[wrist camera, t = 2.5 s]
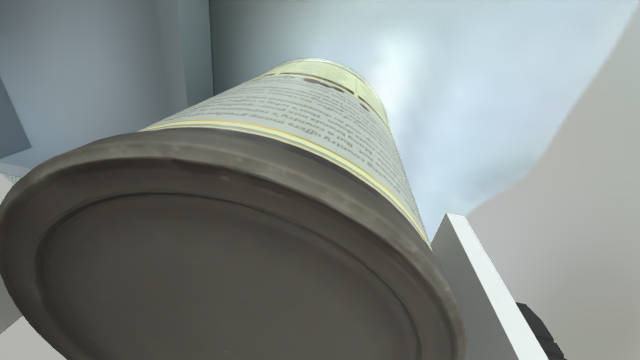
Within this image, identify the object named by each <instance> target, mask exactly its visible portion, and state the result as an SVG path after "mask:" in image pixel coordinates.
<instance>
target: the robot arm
mask: <svg viewBox="0 0 640 360" xmlns="http://www.w3.org/2000/svg"><path fill="white" fill-rule="evenodd" d="M431 248H432V251H433V254H434V255H435V257H436V258H437V259H438V261H439V262H440V264H441V266H442V268H443V270H444V272H445V274H446V276H447V278H448V280H449V283H450V285H451V287H452V289H453V292H454V294H455V296H456V299H457V301H458V304H459V307H460V310H461V313H462V317H463V321H464V324H465V330H466V335H467V350H466V358H465V360H567V359H564V355H563V353H562V351H561V350H560V348H559V347H558V345H557V344H556V343H554V341H553V340H554V339H553V337H552V336H551V334H550V333H549V331H548V330H547V328H546V326H545V325H544V323H543V322H542V320H541V319H539V317H538V316H537V315H536V314H535V313H533V311H532V310H531V309H530V308H529V307H527V305H526V304H521V303H517V302H515V301H514V300H513V298H512V296H511V295H510V293H509V291H508V290H507V288H506V286H505V285H504V283H503V281H502V279H501V278H500V276H499V274H498V273H497V271H496V269H495V267H494V266H493V264H492V262H491V261H490V259H489V257H488V256H487V254H486V252H485V250H484V249H483V247H482V245H481V244H480V242H479V240H478V239H477V237H476V235H475V233H474V232H473V230H472V228H471V227H470V225H469V223H468V221H467V220H466V218H465V216H460V215H455V214H450V213H446V214H445V216H444V218H443V220H442V222H441V225H440V227H439V229H438V231H437V233H436V235H435V237H434V239H433V241H432V243H431ZM21 316H23V314H22V313H21V312H20V310H19V309H18V308H17V307H16V305H15V304H14V302H13V300H12V298H11V297H10V295H9V293H8V291H7V289H6V287H5V285H4V282H3V279H2V277H1V275H0V334H1V333H2V332H3V331H5V330H6V329H7V328H8V327H9V326H11V325H12V324H13V323H14V322H15V321H17V320H18V319H19V318H20V317H21Z"/></svg>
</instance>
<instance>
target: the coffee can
mask: <svg viewBox="0 0 640 360" xmlns="http://www.w3.org/2000/svg"><path fill="white" fill-rule="evenodd" d="M0 275H1V277H2V279H3V282H4V285H5V287H6V289H7V291H8V293H9V295H10V297H11V298H12V300H13V302H14V304H15V305H16V307H17V308H18V309H19V310H20V312H21V313H22V314H23V316H24V317H25V319H26V320H27V321H28V322H29V324H30V325H31V326H32V327H33V328H34V329H35V330H36V331H37V332H38V333H39V334H40V335H41V336H42V337H43V338H44V339H45V340H46V341H47V342H48V343H49V344H50V345H51V346H52V347H53V348H54V349H55V350H57V351H58V352H59V353H60V354H62V355H63V356H64V357H65V358H66V359H67V360H465V358H466V350H467V335H466V330H465V324H464V321H463V317H462V313H461V310H460V307H459V304H458V301H457V299H456V296H455V294H454V292H453V289H452V287H451V285H450V283H449V280H448V278H447V276H446V274H445V272H444V270H443V268H442V266H441V264H440V262H439V261H438V259H437V258H436V257H435V255H434V254H433V251H432V248H431V245H430V242H429V239H428V237H427V234H426V231H425V228H424V225H423V222H422V220H421V217H420V214H419V211H418V208H417V205H416V202H415V199H414V196H413V194H412V191H411V188H410V185H409V182H408V180H407V177H406V174H405V171H404V168H403V165H402V162H401V159H400V156H399V153H398V150H397V147H396V145H395V142H394V139H393V136H392V133H391V130H390V128H389V125H388V119H387V115H386V112H385V109H384V106H383V104H382V102H381V100H380V98H379V97H378V95H377V94H376V92H375V91H374V89H373V88H372V87H371V86H370V85H369V83H368V82H367V81H366V80H365V79H364V78H362V77H361V76H360V75H359V74H357V73H356V72H355V71H353V70H352V69H350V68H348V67H346V66H344V65H341V64H339V63H336V62H333V61H330V60H324V59H319V58H304V59H297V60H292V61H288V62H284V63H282V64H280V65H278V66H277V67H275V68H272V69H271V70H269V71H268V72H267V73H265V74H263V75H260V76H258V77H256V78H254V79H251V80H249V81H247V82H244V83H242V84H240V85H238V86H236V87H233V88H231V89H229V90H227V91H225V92H222V93H220V94H218V95H216V96H214V97H212V98H209V99H207V100H205V101H203V102H201V103H198V104H196V105H194V106H192V107H190V108H187V109H185V110H183V111H181V112H179V113H176V114H174V115H172V116H170V117H168V118H165V119H163V120H161V121H159V122H157V123H154V124H152V125H150V126H148V127H146V128H144V129H141V130H139V131H137V132H133V133H126V134H121V135H115V136H111V137H107V138H103V139H99V140H96V141H93V142H91V143H88V144H86V145H83V146H81V147H79V148H76V149H74V150H71V151H68V152H65V153H63V154H60V155H57V156H54V157H52V158H50V159H48V160H47V161H45V162H43V163H41V164H39V165H37V166H36V167H35V168H33V169H32V170H31V171H30V172H28V173H27V174H26V175H25V176H24V177H22V178H21V179H20V180H19V181H18V182H17V183H16V184H15V185H13V186H12V188H11V189H10V191H9V192H8V193H7V195H6V196H5V198H4V200H3V201H2V203H1V205H0Z"/></svg>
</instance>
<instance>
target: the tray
mask: <svg viewBox="0 0 640 360" xmlns="http://www.w3.org/2000/svg"><path fill="white" fill-rule="evenodd" d="M212 97H214V88H213V70H212V52H211V34H210V16H209V0H0V173H1V174H6V175H11V176H16V177H21V178H22V177H24V176H25V175H26V174H27V173H28V172H30V171H31V170H32V169H33V168H35V167H36V166H37V165H39V164H41V163H43V162H45V161H47V160H48V159H50V158H52V157H54V156H57V155H60V154H63V153H65V152H68V151H71V150H74V149H76V148H79V147H81V146H83V145H86V144H88V143H91V142H93V141H96V140H99V139H103V138H107V137H111V136H115V135H121V134H126V133H133V132H137V131H139V130H141V129H144V128H146V127H148V126H150V125H152V124H154V123H157V122H159V121H161V120H163V119H165V118H168V117H170V116H172V115H174V114H176V113H179V112H181V111H183V110H185V109H187V108H190V107H192V106H194V105H196V104H198V103H201V102H203V101H205V100H207V99H209V98H212Z"/></svg>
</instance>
